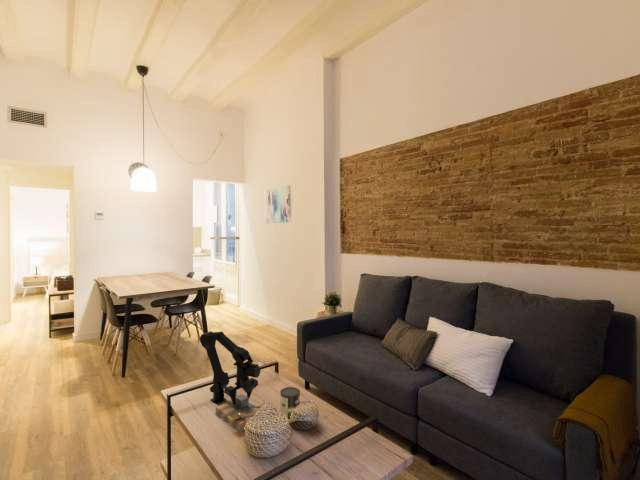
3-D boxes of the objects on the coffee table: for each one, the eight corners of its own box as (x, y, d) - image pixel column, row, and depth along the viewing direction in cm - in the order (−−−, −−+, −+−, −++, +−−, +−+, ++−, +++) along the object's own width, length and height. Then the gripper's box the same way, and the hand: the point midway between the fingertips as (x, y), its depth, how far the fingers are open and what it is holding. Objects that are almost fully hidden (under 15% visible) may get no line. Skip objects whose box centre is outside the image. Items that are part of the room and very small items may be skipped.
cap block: (234, 405, 189) (234, 396, 189) (242, 402, 193) (242, 393, 192) (240, 409, 185) (240, 400, 185) (248, 406, 189) (248, 397, 188)
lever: (237, 413, 173) (226, 416, 169) (237, 411, 173) (227, 414, 169) (243, 418, 170) (233, 421, 165) (243, 415, 170) (233, 418, 165)
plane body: (215, 414, 180) (215, 404, 180) (225, 409, 185) (225, 400, 185) (240, 432, 165) (240, 421, 165) (251, 426, 170) (251, 416, 170)
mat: (228, 406, 188) (228, 406, 188) (243, 400, 196) (243, 399, 196) (239, 413, 182) (239, 413, 182) (254, 406, 189) (254, 406, 189)
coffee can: (301, 414, 183) (302, 388, 182) (296, 424, 173) (297, 397, 172) (283, 411, 185) (283, 385, 184) (277, 422, 175) (277, 394, 174)
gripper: (235, 384, 176) (235, 413, 176) (264, 373, 190) (264, 400, 190) (223, 377, 183) (223, 406, 184) (252, 367, 197) (251, 394, 198)
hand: (241, 401), depth 189 cm, fingers open, 9 cm apart
